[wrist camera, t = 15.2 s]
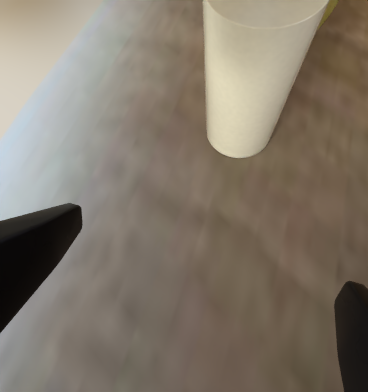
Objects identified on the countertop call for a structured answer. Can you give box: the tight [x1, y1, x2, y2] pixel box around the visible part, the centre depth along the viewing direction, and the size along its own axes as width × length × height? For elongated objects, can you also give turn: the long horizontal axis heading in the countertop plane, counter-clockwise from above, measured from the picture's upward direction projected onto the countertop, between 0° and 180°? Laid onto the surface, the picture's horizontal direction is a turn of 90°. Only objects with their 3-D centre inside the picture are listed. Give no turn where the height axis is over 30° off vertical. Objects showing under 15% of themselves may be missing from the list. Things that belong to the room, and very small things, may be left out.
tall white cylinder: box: [202, 0, 330, 158], centre depth 19 cm, size 6×6×13 cm
